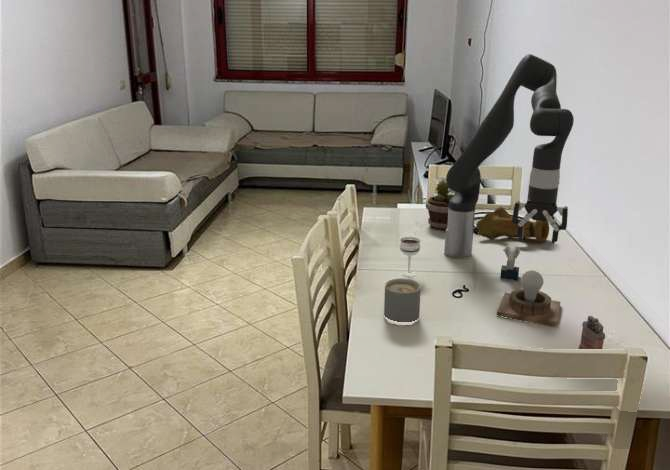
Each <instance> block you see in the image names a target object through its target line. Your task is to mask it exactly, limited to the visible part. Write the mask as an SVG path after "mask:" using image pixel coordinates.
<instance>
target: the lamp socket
mask: <svg viewBox="0 0 670 470" xmlns="http://www.w3.org/2000/svg"><path fill="white" fill-rule="evenodd" d="M560 308H561V301H559V300H554V299H552V297H550V295H548V294H547V293H545V292H542V291H541V290H539V291H538V293H537V295H536V299H535V301H534V303H527V302H525V293H524V289H523V288H518V289H515V290H512V291H510V292H504V293H503V296H502V298H501V300H500V304H499V306H498V308H497V311H496V316H497V315H498V316H503V317H507V318H506V319H509V318H512V319H511V320H514V319H516V321H519V320H521V321H520V322H525V321H527V323H530V322H532V323H531V324H536V323H538V324H537V325H541V324H542V326H547V325H548V327H552V326H553V327H554V328H557V323H558V319H557V318H559V313H560ZM498 316H497V317H498ZM503 317H502V318H503Z"/></svg>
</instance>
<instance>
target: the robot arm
mask: <svg viewBox="0 0 670 470" xmlns="http://www.w3.org/2000/svg"><path fill="white" fill-rule="evenodd" d="M557 74H558V73H557V69H556V67H555V66H554V64H553V63H551V62H549V61H547V60H545V59H543V58H541V57H538V56H535V55H534V54H531V53H528V54H525V55H524V57H522V58H521V59H520V61H519V63H518V64H517V66H516V67H515V68H514V70H513V72H512V74H511V76H510V77H509V80H508V81H507V83H506V85H505V87H504V88H503V90H502V92H501V93H500V95H499V97H498V98H497V100H496V101H495V103H494V104H493V106H492V108H491V109H490V111H489V112H488V113H487V114H486V116H485V117H484V119H483V121H482V122H481V123H480V125H479V127H477V128H478V129H477V130H476V132H475V134H473V136H472V138H471V139H470V141H469V142H468V144H467V146H466V148H465V149H464V151H463V152H462V153H461V155H460V156H459V157H458V158H457V160H456V161H455V162H454V163H453V164H452V165H451V167H450V168H449V170H448V171H447V173H446V177H445V182H446V183H447V186H448V188H449V189H448V190H449V191H452V192H454V193H453V194H454V196H453V197H452V198H451V199H450V201H449V210H448V225H447V229H446V230H445V234H444V250H443V251H444V253H443V254H444V255H445V256H448V257H451V258H454V259H466V258H469V257H471V256H472V254H473V241H474V230H475V229H474V225H475V216H476V205H477V203H478V201H479V196H480V195H479V194H480V189H481V180H482V177H481V170H480V168H479V167H480V165H481V164H483V162H484V161H486V160H487V159H488V158H489V157H490V156H491V155H492V154H493V153H494V152H496V151H497V150H498V149H499V148H500V147H501V145H502V144H503V143H504V142H505V140H506V139H507V137H508V136H509V135H510V134H511V132H512V130H513V128H514V124H515V109H514V108H515V100H516V99H515V98H516V95H517V92H518V90H519V89H520V87H523V88H525V89H528V90H529V91H532V92H533V93H532V96H531V99H530V103H531V108H532V114H531V117H530V120H529V121H530V122H529V128H530V132H531V133H532V134H533V135H535V136H539V137H554V139H553V140H552V141H550V142H547V143H543V144H538V145H536V146H535V147H534V149H533V156H532V157H533V158H532V163H531V170H530V173H529V182H528V190H527V191H528V192H527V198H526V199H527V200H526V202H521V201H520V200H517V201H515V203H514V206H513V212H512V223H513V224H517V225H518V232H517V236H518V237H517V238H519V240H523V239H524V238H523V231H524V224H525V223H526V222H527V221H530V220H531V219H532V220H533V221H536V220H540V221H547V220H548V222H549V226H551V228H552V229H553V230H552V237H551V244H554V245H555V243H557V242H558V240H559V232H560V231H566V229H567V227H568V215H569V207H568V206H564V207H562V206H558V205H557V201H558V195H559V185H560V177H561V175H560V171H561V162H562V154H563V151H564V147H565V145H566V142H567V140H568V138H569V136H570V134H571V132H572V129H573V126H574V122H575V119H574V115H573V113H572V111H571V110H570V109H566V108H561V107H562V106H561V105H562V104H561V103H560V99H559V97H558V94H557V85H558V84H557V83H558V82H557V78H558V75H557ZM523 208H524V209H525V210H526V214H525V215H524V216H523V217H522V218H521V220H520V218H519V213H520V211H522V209H523ZM557 212H558V213H559V215H560V216H562V217H561V224H559V223H558V221H557V219H556V217H555V216H554V215H555V214H556V213H557Z"/></svg>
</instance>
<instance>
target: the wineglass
mask: <svg viewBox="0 0 670 470" xmlns="http://www.w3.org/2000/svg"><path fill="white" fill-rule="evenodd" d="M399 241H400V244H399V250H400V252H401V253H402V254H403V255H405V256H407V257H408V259H407V262H408V264H407V265H408V267H407V269H408V270H407V271H408V273H411V272H412V271H410V267H411V258H412V257H413V256H415V255H417V254H418V253H419V251H420V249H421V244H420V243H421V239H419V238H417V237H413V236H404V237H402V238H400V239H399ZM409 271H410V272H409Z"/></svg>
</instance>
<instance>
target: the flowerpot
mask: <svg viewBox="0 0 670 470" xmlns="http://www.w3.org/2000/svg"><path fill="white" fill-rule="evenodd" d="M435 191H436V193H435V195H434V196H429V198H428V199H427V200H426V202H425V208H426V210H427V211H428V212H427V213H428V218H427V219H428V220H427V221H428V224H429V226H430V228H431V229H435V230H437V231H446V229H447V225H448V210H449V201H450V199H451V198H452V197H453V196H454V194H455V193H453V192H451V190H450V189H449V188H448V186H447V183H446V179H444V178H443V176H442V179H441V180H438V183H435Z"/></svg>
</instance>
